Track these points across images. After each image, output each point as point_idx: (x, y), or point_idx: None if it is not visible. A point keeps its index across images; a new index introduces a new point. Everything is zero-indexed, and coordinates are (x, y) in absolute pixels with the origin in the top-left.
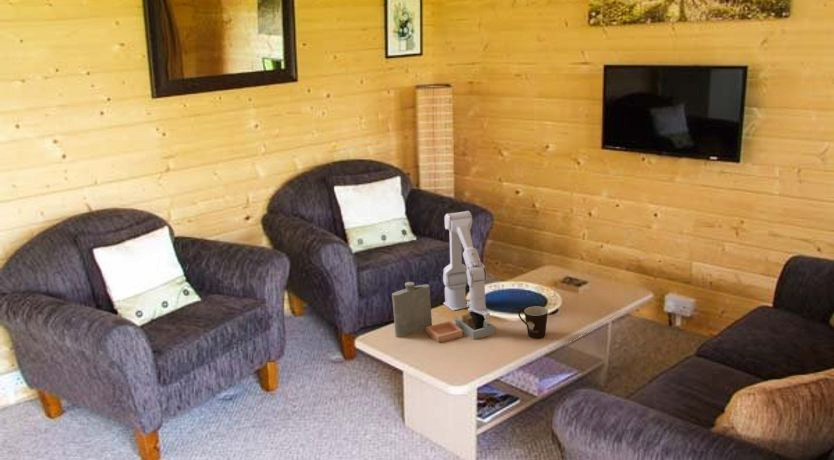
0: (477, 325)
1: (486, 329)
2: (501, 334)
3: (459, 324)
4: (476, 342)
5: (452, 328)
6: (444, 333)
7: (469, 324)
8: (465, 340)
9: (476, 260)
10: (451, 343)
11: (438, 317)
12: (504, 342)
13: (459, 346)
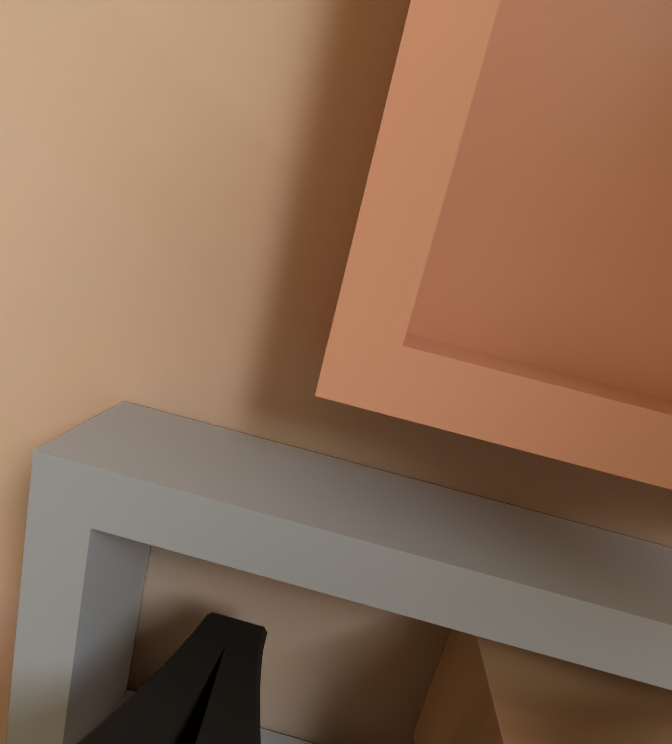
0: (148, 693)
1: (21, 690)
2: None
3: (632, 580)
4: (12, 361)
5: (660, 401)
6: (654, 143)
7: (467, 684)
8: (180, 289)
9: None
10: (255, 9)
11: None
12: None
13: (58, 42)
